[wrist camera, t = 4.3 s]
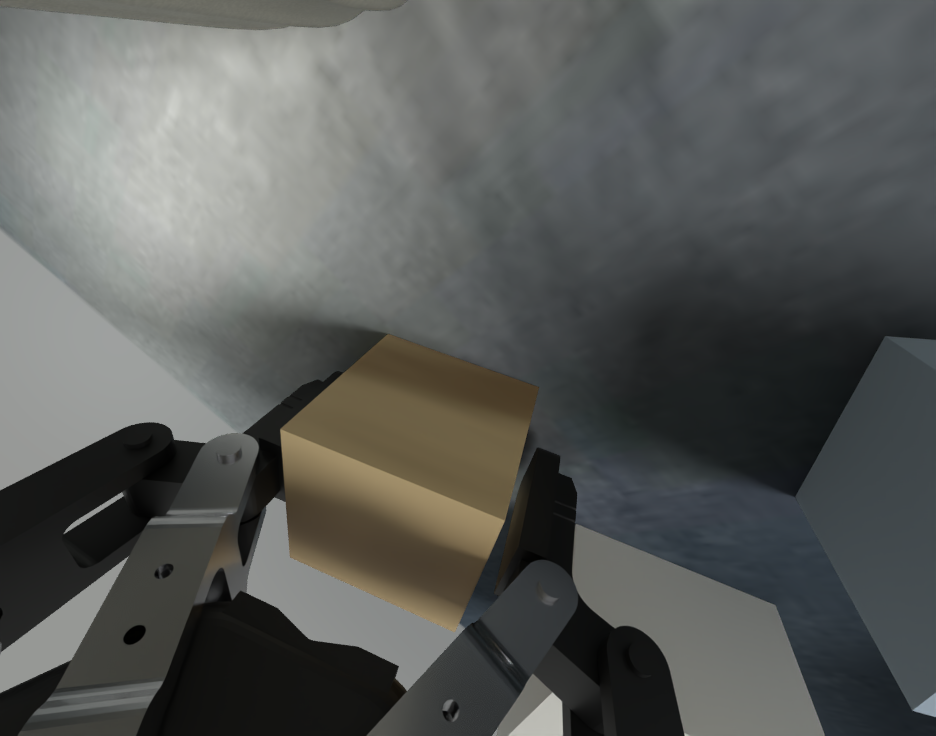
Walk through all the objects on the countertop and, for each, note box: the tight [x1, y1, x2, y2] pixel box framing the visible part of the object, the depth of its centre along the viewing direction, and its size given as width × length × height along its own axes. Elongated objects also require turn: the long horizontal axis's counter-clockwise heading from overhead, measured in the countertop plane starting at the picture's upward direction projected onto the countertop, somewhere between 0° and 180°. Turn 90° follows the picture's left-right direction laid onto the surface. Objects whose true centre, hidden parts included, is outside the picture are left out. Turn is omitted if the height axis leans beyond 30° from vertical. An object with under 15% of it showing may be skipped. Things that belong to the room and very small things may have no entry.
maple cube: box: [280, 334, 539, 632], centre depth 11 cm, size 5×5×5 cm
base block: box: [497, 524, 825, 736], centre depth 13 cm, size 7×7×5 cm
